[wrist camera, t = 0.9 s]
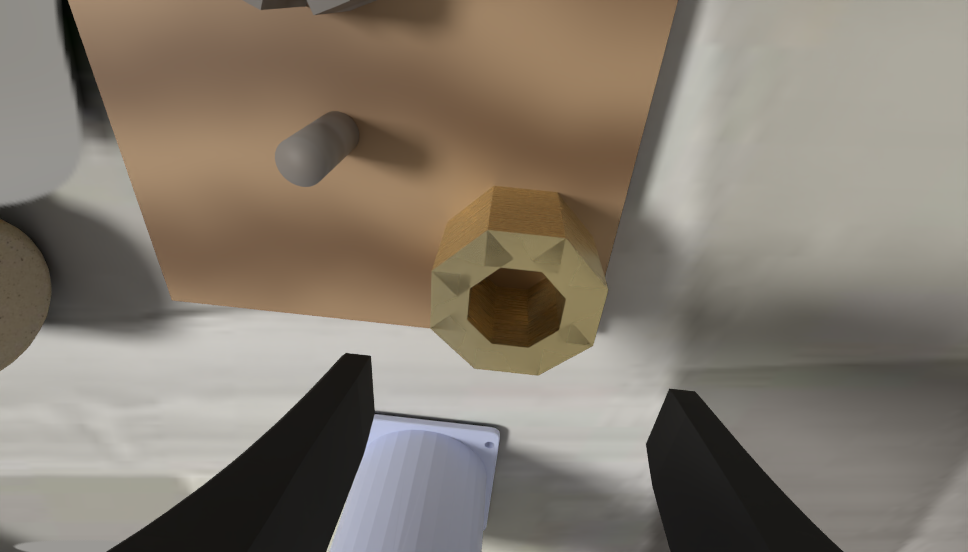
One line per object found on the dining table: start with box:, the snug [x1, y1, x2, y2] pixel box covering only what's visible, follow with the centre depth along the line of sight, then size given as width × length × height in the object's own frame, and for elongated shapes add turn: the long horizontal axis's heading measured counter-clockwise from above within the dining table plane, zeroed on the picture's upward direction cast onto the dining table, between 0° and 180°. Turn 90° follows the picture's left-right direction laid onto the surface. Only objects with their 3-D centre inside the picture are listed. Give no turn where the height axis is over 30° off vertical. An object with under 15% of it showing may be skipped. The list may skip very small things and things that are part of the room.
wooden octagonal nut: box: [430, 186, 608, 375], centre depth 16 cm, size 5×5×4 cm
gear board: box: [68, 0, 678, 328], centre depth 14 cm, size 18×18×5 cm
